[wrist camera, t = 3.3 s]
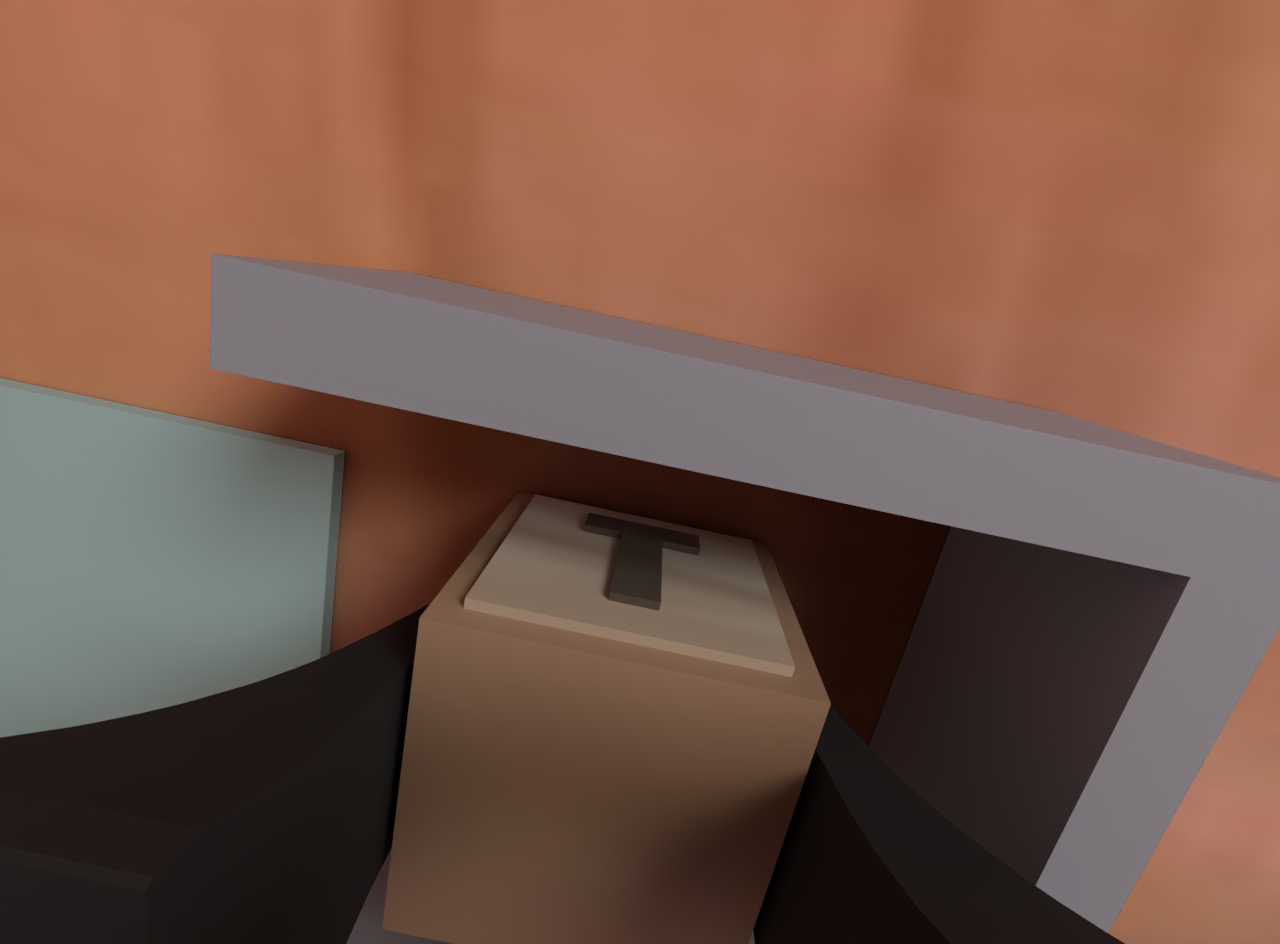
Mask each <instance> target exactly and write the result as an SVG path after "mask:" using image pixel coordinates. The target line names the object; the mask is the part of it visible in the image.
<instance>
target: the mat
mask: <svg viewBox="0 0 1280 944" xmlns="http://www.w3.org/2000/svg"><path fill="white" fill-rule="evenodd" d="M344 458H345V451H343V450H338V449H334V448H329V447H324V446H319V445H315V444H310V443H305V442H301V441H296V440H291V439H286V438H282V437H277V436H272V435H268V434H263V433H258V432H253V431H249V430H244V429H239V428H234V427H230V426H225V425H220V424H216V423H211V422H206V421H201V420H197V419H192V418H187V417H182V416H178V415H173V414H168V413H164V412H159V411H154V410H149V409H145V408H140V407H135V406H131V405H126V404H121V403H116V402H112V401H107V400H102V399H97V398H93V397H88V396H83V395H79V394H74V393H69V392H64V391H60V390H55V389H50V388H45V387H41V386H36V385H31V384H27V383H22V382H17V381H12V380H8V379H3V378H0V738H1V737H7V736H14V735H21V734H27V733H34V732H41V731H47V730H54V729H61V728H67V727H73V726H79V725H84V724H90V723H95V722H101V721H105V720H110V719H115V718H120V717H125V716H130V715H135V714H140V713H144V712H148V711H153V710H157V709H161V708H165V707H170V706H174V705H178V704H182V703H186V702H190V701H193V700H196V699H200V698H203V697H207V696H210V695H214V694H217V693H221V692H224V691H228V690H231V689H235V688H238V687H241V686H245V685H248V684H252V683H255V682H258V681H261V680H264V679H267V678H269V677H272V676H275V675H278V674H280V673H283V672H286V671H289V670H292V669H294V668H297V667H300V666H302V665H305V664H307V663H310V662H312V661H315V660H317V659H319V658H322V657H324V656H327V655H329V654H330V643H331V630H332V617H333V604H334V590H335V577H336V564H337V551H338V537H339V524H340V511H341V498H342V484H343V471H344Z"/></svg>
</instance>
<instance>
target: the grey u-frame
mask: <svg viewBox="0 0 1280 944" xmlns="http://www.w3.org/2000/svg"><path fill="white" fill-rule="evenodd" d="M210 369H215V370H220V371H224V372H229V373H234V374H238V375H243V376H248V377H252V378H257V379H262V380H267V381H271V382H276V383H281V384H285V385H290V386H295V387H299V388H304V389H309V390H314V391H318V392H323V393H328V394H332V395H337V396H342V397H346V398H351V399H356V400H361V401H365V402H370V403H375V404H379V405H384V406H389V407H393V408H398V409H403V410H408V411H412V412H417V413H422V414H426V415H431V416H436V417H440V418H445V419H450V420H455V421H459V422H464V423H469V424H473V425H478V426H483V427H487V428H492V429H497V430H502V431H506V432H511V433H516V434H520V435H525V436H530V437H534V438H539V439H544V440H548V441H553V442H558V443H563V444H567V445H572V446H577V447H581V448H586V449H591V450H595V451H600V452H605V453H610V454H614V455H619V456H624V457H628V458H633V459H638V460H642V461H647V462H652V463H657V464H661V465H666V466H671V467H675V468H680V469H685V470H689V471H694V472H699V473H704V474H708V475H713V476H718V477H722V478H727V479H732V480H736V481H741V482H746V483H751V484H755V485H760V486H765V487H769V488H774V489H779V490H783V491H788V492H793V493H798V494H802V495H807V496H812V497H816V498H821V499H826V500H830V501H835V502H840V503H845V504H849V505H854V506H859V507H863V508H868V509H873V510H877V511H882V512H887V513H892V514H896V515H901V516H906V517H910V518H915V519H920V520H924V521H929V522H934V523H938V524H943V525H948V526H951V528H950V531H949V533H948V536H947V539H946V541H945V544H944V547H943V549H942V552H941V555H940V557H939V560H938V563H937V565H936V568H935V571H934V573H933V576H932V579H931V581H930V584H929V587H928V590H927V592H926V595H925V598H924V600H923V603H922V606H921V608H920V611H919V614H918V616H917V619H916V622H915V624H914V627H913V630H912V632H911V635H910V638H909V640H908V643H907V646H906V648H905V651H904V654H903V656H902V659H901V662H900V664H899V667H898V670H897V672H896V675H895V678H894V680H893V683H892V686H891V688H890V691H889V694H888V696H887V699H886V702H885V705H884V707H883V710H882V713H881V715H880V718H879V721H878V723H877V726H876V729H875V731H874V734H873V737H872V739H871V742H870V745H869V747H870V748H871V749H872V750H873V751H874V752H875V753H876V754H877V755H878V756H879V757H880V758H881V759H882V760H883V761H884V762H885V763H886V764H887V765H888V766H889V767H890V768H891V769H892V770H893V771H894V772H895V773H896V774H897V775H898V776H899V777H900V778H901V779H902V780H903V781H904V782H906V783H907V784H908V785H909V786H910V787H911V788H912V789H913V790H914V791H915V792H916V793H918V794H919V795H920V796H921V797H922V798H923V799H924V800H926V801H927V802H928V803H929V804H930V805H931V806H933V807H934V808H935V809H936V810H937V811H938V812H940V813H941V814H942V815H943V816H944V817H946V818H947V819H948V820H949V821H950V822H951V823H953V824H954V825H955V826H956V827H957V828H959V829H960V830H961V831H962V832H964V833H965V834H966V835H967V836H969V837H970V838H971V839H973V840H974V841H975V842H976V843H978V844H979V845H980V846H981V847H983V848H984V849H986V850H987V851H988V852H990V853H991V854H992V855H994V856H995V857H996V858H998V859H999V860H1000V861H1002V862H1003V863H1004V864H1006V865H1007V866H1009V867H1010V868H1011V869H1013V870H1014V871H1015V872H1017V873H1018V874H1019V875H1021V876H1022V877H1023V878H1025V879H1026V880H1028V881H1029V882H1031V883H1032V884H1034V885H1035V886H1036V887H1038V888H1039V889H1041V890H1042V891H1044V892H1045V893H1047V894H1048V895H1050V896H1051V897H1053V898H1054V899H1056V900H1057V901H1058V902H1060V903H1061V904H1063V905H1065V906H1066V907H1068V908H1069V909H1071V910H1072V911H1074V912H1075V913H1077V914H1079V915H1080V916H1082V917H1083V918H1085V919H1086V920H1088V921H1090V922H1091V923H1093V924H1094V925H1096V926H1097V927H1099V928H1100V929H1102V930H1104V931H1105V932H1107V933H1108V932H1109V930H1110V928H1111V927H1112V925H1113V923H1114V921H1115V920H1116V918H1117V916H1118V914H1119V912H1120V911H1121V909H1122V907H1123V905H1124V904H1125V902H1126V900H1127V898H1128V896H1129V895H1130V893H1131V891H1132V889H1133V887H1134V886H1135V884H1136V882H1137V880H1138V879H1139V877H1140V875H1141V873H1142V871H1143V870H1144V868H1145V866H1146V864H1147V863H1148V861H1149V859H1150V857H1151V855H1152V854H1153V852H1154V850H1155V848H1156V847H1157V845H1158V843H1159V841H1160V839H1161V838H1162V836H1163V834H1164V832H1165V831H1166V829H1167V827H1168V825H1169V823H1170V822H1171V820H1172V818H1173V816H1174V814H1175V813H1176V811H1177V809H1178V807H1179V806H1180V804H1181V802H1182V800H1183V798H1184V797H1185V795H1186V793H1187V791H1188V790H1189V788H1190V786H1191V784H1192V782H1193V781H1194V779H1195V777H1196V775H1197V774H1198V772H1199V770H1200V768H1201V766H1202V765H1203V763H1204V761H1205V759H1206V758H1207V756H1208V754H1209V752H1210V750H1211V749H1212V747H1213V745H1214V743H1215V742H1216V740H1217V738H1218V736H1219V734H1220V733H1221V731H1222V729H1223V727H1224V725H1225V724H1226V722H1227V720H1228V718H1229V717H1230V715H1231V713H1232V711H1233V709H1234V708H1235V706H1236V704H1237V702H1238V701H1239V699H1240V697H1241V695H1242V693H1243V692H1244V690H1245V688H1246V686H1247V685H1248V683H1249V681H1250V679H1251V677H1252V676H1253V674H1254V672H1255V670H1256V669H1257V667H1258V665H1259V663H1260V661H1261V660H1262V658H1263V656H1264V654H1265V652H1266V651H1267V649H1268V647H1269V645H1270V644H1271V642H1272V640H1273V638H1274V636H1275V635H1276V633H1277V631H1278V629H1279V628H1280V478H1279V477H1275V476H1272V475H1268V474H1265V473H1262V472H1258V471H1255V470H1251V469H1248V468H1245V467H1241V466H1238V465H1235V464H1231V463H1228V462H1224V461H1221V460H1218V459H1214V458H1211V457H1208V456H1204V455H1201V454H1197V453H1194V452H1191V451H1187V450H1184V449H1180V448H1177V447H1174V446H1170V445H1167V444H1164V443H1160V442H1157V441H1153V440H1150V439H1147V438H1143V437H1140V436H1136V435H1133V434H1130V433H1126V432H1123V431H1120V430H1116V429H1113V428H1109V427H1106V426H1103V425H1099V424H1096V423H1093V422H1089V421H1086V420H1082V419H1079V418H1076V417H1072V416H1069V415H1065V414H1062V413H1057V412H1053V411H1048V410H1044V409H1039V408H1034V407H1030V406H1025V405H1020V404H1016V403H1011V402H1007V401H1002V400H997V399H993V398H988V397H983V396H979V395H974V394H969V393H965V392H960V391H956V390H951V389H946V388H942V387H937V386H932V385H928V384H923V383H918V382H914V381H909V380H905V379H900V378H895V377H891V376H886V375H881V374H877V373H872V372H867V371H863V370H858V369H854V368H849V367H844V366H840V365H835V364H830V363H826V362H821V361H816V360H812V359H807V358H803V357H798V356H793V355H789V354H784V353H779V352H775V351H770V350H765V349H761V348H756V347H752V346H747V345H742V344H738V343H733V342H728V341H724V340H719V339H714V338H710V337H705V336H701V335H696V334H691V333H687V332H682V331H677V330H673V329H668V328H664V327H659V326H654V325H650V324H645V323H640V322H636V321H631V320H626V319H622V318H617V317H613V316H608V315H603V314H599V313H594V312H589V311H585V310H580V309H575V308H571V307H566V306H562V305H557V304H552V303H548V302H543V301H538V300H534V299H529V298H524V297H520V296H515V295H511V294H506V293H501V292H497V291H492V290H487V289H483V288H478V287H473V286H469V285H464V284H460V283H455V282H450V281H446V280H441V279H436V278H432V277H427V276H422V275H418V274H413V273H409V272H399V271H388V270H378V269H367V268H357V267H346V266H336V265H325V264H315V263H304V262H294V261H283V260H273V259H262V258H252V257H241V256H231V255H220V254H211V317H210ZM391 850H392V849H391ZM390 858H391V851H390V852H389V854H388V856H387V858H386V860H385V862H384V864H383V866H382V868H381V870H380V871H379V873H378V875H377V877H376V879H375V881H374V883H373V885H372V887H371V890H370V892H369V894H368V896H367V898H366V901H365V903H364V905H363V907H362V910H361V912H360V914H359V916H358V919H357V921H356V923H355V925H354V928H353V930H352V932H351V934H350V936H349V939H348V941H347V943H346V944H453V943H448V942H443V941H438V940H433V939H428V938H423V937H418V936H413V935H408V934H403V933H398V932H393V931H388V930H383V929H382V924H383V916H384V908H385V899H386V891H387V883H388V875H389V866H390ZM748 944H755V940H754V932H752V935H751V938H750V940H749V943H748Z"/></svg>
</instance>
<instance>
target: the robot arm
mask: <svg viewBox="0 0 1280 944" xmlns="http://www.w3.org/2000/svg"><path fill="white" fill-rule="evenodd" d="M430 604H431V603H429V604H428V605H426V606H424V607H422V608H421V609H419V610H417V611H415V612H413V613H411V614H410V615H408V616H406V617H404V618H402V619H400V620H398V621H396V622H395V623H393V624H391V625H389V626H387V627H385V628H383V629H381V630H380V631H378V632H376V633H374V634H371V635H369V636H367V637H365V638H363V639H361V640H359V641H356V642H354V643H352V644H350V645H348V646H346V647H344V648H341V649H339V650H337V651H335V652H333V653H331V654H329V655H327V656H324V657H322V658H319V659H317V660H315V661H312V662H310V663H307V664H305V665H302V666H300V667H297V668H294V669H292V670H289V671H286V672H283V673H280V674H278V675H275V676H272V677H269V678H267V679H264V680H261V681H258V682H255V683H252V684H248V685H245V686H241V687H238V688H235V689H231V690H228V691H224V692H221V693H217V694H214V695H210V696H207V697H203V698H200V699H196V700H193V701H190V702H186V703H182V704H178V705H174V706H170V707H165V708H161V709H157V710H153V711H148V712H144V713H140V714H135V715H130V716H125V717H120V718H115V719H110V720H105V721H101V722H95V723H90V724H84V725H79V726H73V727H67V728H61V729H54V730H47V731H41V732H34V733H27V734H21V735H14V736H7V737H1V738H0V944H346V943H347V941H348V939H349V936H350V934H351V932H352V930H353V928H354V925H355V923H356V921H357V919H358V916H359V914H360V912H361V910H362V907H363V905H364V903H365V901H366V898H367V896H368V894H369V892H370V890H371V887H372V885H373V883H374V881H375V879H376V877H377V875H378V873H379V871H380V870H381V868H382V866H383V864H384V862H385V860H386V858H387V856H388V854H389V852H390V851H391V849H392V842H393V833H394V825H395V817H396V808H397V800H398V792H399V784H400V775H401V767H402V759H403V751H404V742H405V734H406V726H407V717H408V709H409V701H410V693H411V684H412V676H413V668H414V659H415V651H416V643H417V635H418V626H419V618H420V617H421V615H422V614H423V613H424V611H425V610H426V609H427V608H428V606H429V605H430ZM753 932H754V940H755V944H1124V943H1123V942H1121V941H1120V940H1118V939H1116V938H1115V937H1113V936H1111V935H1110V934H1108V933H1107V932H1105V931H1104V930H1102V929H1100V928H1099V927H1097V926H1096V925H1094V924H1093V923H1091V922H1090V921H1088V920H1086V919H1085V918H1083V917H1082V916H1080V915H1079V914H1077V913H1075V912H1074V911H1072V910H1071V909H1069V908H1068V907H1066V906H1065V905H1063V904H1061V903H1060V902H1058V901H1057V900H1056V899H1054V898H1053V897H1051V896H1050V895H1048V894H1047V893H1045V892H1044V891H1042V890H1041V889H1039V888H1038V887H1036V886H1035V885H1034V884H1032V883H1031V882H1029V881H1028V880H1026V879H1025V878H1023V877H1022V876H1021V875H1019V874H1018V873H1017V872H1015V871H1014V870H1013V869H1011V868H1010V867H1009V866H1007V865H1006V864H1004V863H1003V862H1002V861H1000V860H999V859H998V858H996V857H995V856H994V855H992V854H991V853H990V852H988V851H987V850H986V849H984V848H983V847H981V846H980V845H979V844H978V843H976V842H975V841H974V840H973V839H971V838H970V837H969V836H967V835H966V834H965V833H964V832H962V831H961V830H960V829H959V828H957V827H956V826H955V825H954V824H953V823H951V822H950V821H949V820H948V819H947V818H946V817H944V816H943V815H942V814H941V813H940V812H938V811H937V810H936V809H935V808H934V807H933V806H931V805H930V804H929V803H928V802H927V801H926V800H924V799H923V798H922V797H921V796H920V795H919V794H918V793H916V792H915V791H914V790H913V789H912V788H911V787H910V786H909V785H908V784H907V783H906V782H904V781H903V780H902V779H901V778H900V777H899V776H898V775H897V774H896V773H895V772H894V771H893V770H892V769H891V768H890V767H889V766H888V765H887V764H886V763H885V762H884V761H883V760H882V759H881V758H880V757H879V756H878V755H877V754H876V753H875V752H874V751H873V750H872V749H871V748H870V747H869V746H868V745H867V744H866V743H865V742H864V741H863V740H862V739H861V738H860V737H859V736H858V735H857V734H856V732H855V731H854V730H853V729H852V728H851V727H850V726H849V725H848V724H847V723H846V722H845V721H844V719H843V718H842V717H841V716H840V715H839V714H838V713H837V712H836V711H835V710H834V708H833V707H832V706H831V705H830V708H829V711H828V714H827V717H826V720H825V723H824V726H823V728H822V731H821V734H820V737H819V740H818V743H817V746H816V749H815V752H814V755H813V757H812V760H811V763H810V766H809V769H808V772H807V775H806V778H805V781H804V784H803V787H802V789H801V792H800V795H799V798H798V801H797V804H796V807H795V810H794V813H793V816H792V818H791V821H790V824H789V827H788V830H787V833H786V836H785V839H784V842H783V845H782V847H781V850H780V853H779V856H778V859H777V862H776V865H775V868H774V871H773V874H772V877H771V879H770V882H769V885H768V888H767V891H766V894H765V897H764V900H763V903H762V906H761V908H760V911H759V914H758V917H757V920H756V923H755V926H754V929H753Z"/></svg>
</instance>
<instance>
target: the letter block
mask: <svg viewBox="0 0 1280 944" xmlns="http://www.w3.org/2000/svg"><path fill="white" fill-rule="evenodd" d="M830 705H831V702H830V700H829V697H828V695H827V692H826V690H825V687H824V685H823V682H822V680H821V677H820V675H819V672H818V670H817V667H816V665H815V662H814V660H813V657H812V655H811V652H810V650H809V647H808V645H807V642H806V640H805V637H804V635H803V632H802V630H801V627H800V625H799V622H798V620H797V617H796V615H795V612H794V610H793V607H792V605H791V602H790V600H789V597H788V595H787V592H786V590H785V587H784V585H783V582H782V580H781V577H780V575H779V572H778V570H777V567H776V565H775V562H774V560H773V557H772V555H771V552H770V550H769V547H768V545H767V544H766V543H761V542H757V541H752V540H748V539H744V538H739V537H734V536H730V535H725V534H720V533H715V532H711V531H706V530H701V529H696V528H692V527H687V526H682V525H678V524H673V523H668V522H663V521H659V520H654V519H649V518H645V517H640V516H635V515H630V514H626V513H621V512H616V511H612V510H607V509H602V508H597V507H593V506H588V505H583V504H578V503H574V502H569V501H564V500H560V499H555V498H550V497H545V496H541V495H536V494H530V493H525V492H521V491H518V492H517V494H516V495H515V496H514V497H513V499H512V500H511V501H510V503H509V504H508V505H507V506H506V508H505V509H504V510H503V512H502V513H501V514H500V515H499V517H498V518H497V519H496V521H495V522H494V523H493V524H492V526H491V527H490V528H489V529H488V531H487V532H486V533H485V535H484V536H483V537H482V538H481V540H480V541H479V542H478V544H477V545H476V546H475V547H474V549H473V550H472V551H471V553H470V554H469V555H468V556H467V558H466V559H465V560H464V562H463V563H462V564H461V565H460V567H459V568H458V569H457V570H456V572H455V573H454V574H453V576H452V577H451V578H450V579H449V581H448V582H447V583H446V585H445V586H444V587H443V588H442V590H441V591H440V592H439V594H438V595H437V596H436V597H435V599H434V600H433V601H432V602H431V604H430V605H429V606H428V608H427V609H426V610H425V611H424V613H423V614H422V615H421V617H420V618H419V626H418V635H417V643H416V651H415V659H414V668H413V676H412V684H411V693H410V701H409V709H408V717H407V726H406V734H405V742H404V751H403V759H402V767H401V775H400V784H399V792H398V800H397V808H396V817H395V825H394V833H393V842H392V850H391V858H390V866H389V875H388V883H387V891H386V899H385V908H384V916H383V924H382V929H383V930H388V931H393V932H398V933H403V934H408V935H413V936H418V937H423V938H428V939H433V940H438V941H443V942H448V943H453V944H748V943H749V940H750V938H751V935H752V932H753V929H754V926H755V923H756V920H757V917H758V914H759V911H760V908H761V906H762V903H763V900H764V897H765V894H766V891H767V888H768V885H769V882H770V879H771V877H772V874H773V871H774V868H775V865H776V862H777V859H778V856H779V853H780V850H781V847H782V845H783V842H784V839H785V836H786V833H787V830H788V827H789V824H790V821H791V818H792V816H793V813H794V810H795V807H796V804H797V801H798V798H799V795H800V792H801V789H802V787H803V784H804V781H805V778H806V775H807V772H808V769H809V766H810V763H811V760H812V757H813V755H814V752H815V749H816V746H817V743H818V740H819V737H820V734H821V731H822V728H823V726H824V723H825V720H826V717H827V714H828V711H829V708H830Z"/></svg>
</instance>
